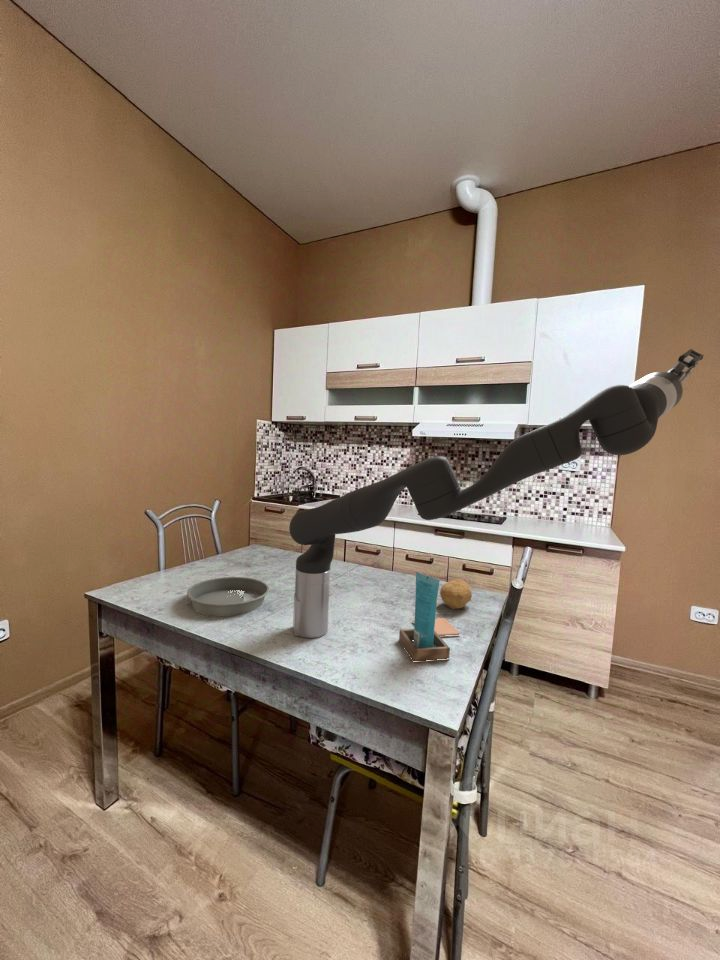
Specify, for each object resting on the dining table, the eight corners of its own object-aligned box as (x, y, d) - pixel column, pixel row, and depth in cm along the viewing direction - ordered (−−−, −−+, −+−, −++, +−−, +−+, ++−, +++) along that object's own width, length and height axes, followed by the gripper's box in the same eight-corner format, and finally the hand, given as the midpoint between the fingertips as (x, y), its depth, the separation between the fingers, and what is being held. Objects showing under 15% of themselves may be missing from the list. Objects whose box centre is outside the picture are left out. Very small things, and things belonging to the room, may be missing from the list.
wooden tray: (413, 662, 97) (414, 650, 97) (399, 640, 108) (399, 629, 107) (449, 659, 99) (449, 648, 99) (431, 638, 110) (432, 627, 109)
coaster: (425, 638, 110) (425, 635, 110) (412, 622, 120) (412, 619, 119) (459, 636, 112) (459, 633, 112) (444, 620, 122) (444, 618, 122)
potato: (433, 610, 129) (434, 585, 129) (446, 597, 142) (448, 574, 141) (463, 617, 125) (465, 592, 124) (474, 603, 137) (476, 580, 136)
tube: (440, 652, 102) (445, 577, 101) (429, 659, 99) (434, 581, 97) (416, 641, 107) (420, 570, 106) (405, 647, 104) (409, 574, 102)
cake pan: (238, 625, 113) (239, 609, 112) (168, 610, 121) (168, 595, 120) (283, 596, 136) (283, 582, 136) (221, 584, 144) (221, 572, 144)
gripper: (641, 440, 76) (666, 418, 86) (703, 374, 66) (723, 358, 76) (605, 417, 79) (633, 399, 89) (659, 350, 70) (684, 338, 79)
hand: (675, 380), depth 82 cm, fingers open, 8 cm apart
